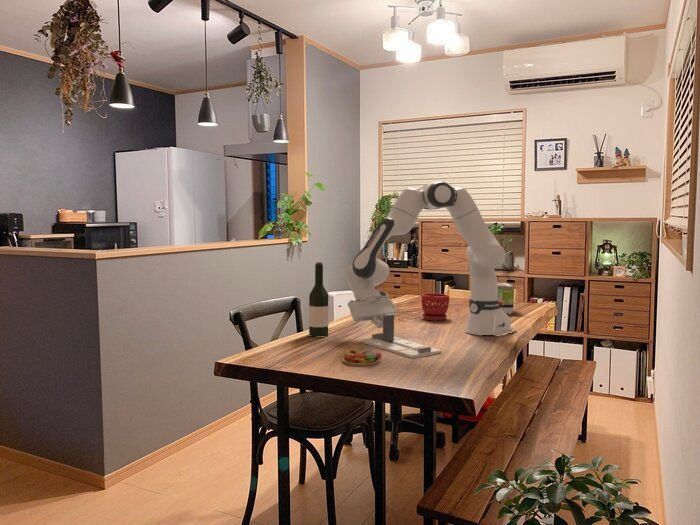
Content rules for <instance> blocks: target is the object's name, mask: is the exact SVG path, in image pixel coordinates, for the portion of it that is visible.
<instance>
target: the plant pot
mask: <svg viewBox="0 0 700 525" xmlns="http://www.w3.org/2000/svg"><path fill="white" fill-rule="evenodd" d="M449 306H450V295H449V294H446V293H433V292H432V293H422V294H421V308H422V311H423V313H422V317H423V319H425V320H430V321H444V320H445V319H446V318H448V316H447V312H448V310H449Z"/></svg>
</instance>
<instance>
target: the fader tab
mask: <svg viewBox="0 0 700 525" xmlns="http://www.w3.org/2000/svg"><path fill="white" fill-rule="evenodd" d="M382 333H383V340H384V341H387V342H388V341H394V337H395V317H394V315H392V314H383V328H382Z"/></svg>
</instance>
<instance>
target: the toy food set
mask: <svg viewBox="0 0 700 525" xmlns="http://www.w3.org/2000/svg"><path fill="white" fill-rule="evenodd" d="M342 353H343V354H342V355H343V357H341V360H342V362H343V363H344V364H346V365H348V366H353V367H370V366H375V365H377V364H378V363H379V362H380V361H381V358H382V354H381V353H380V352H373V351H363V352H362V351H361V350H359V349H356V348H346V349H345V350H343V352H342Z"/></svg>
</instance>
